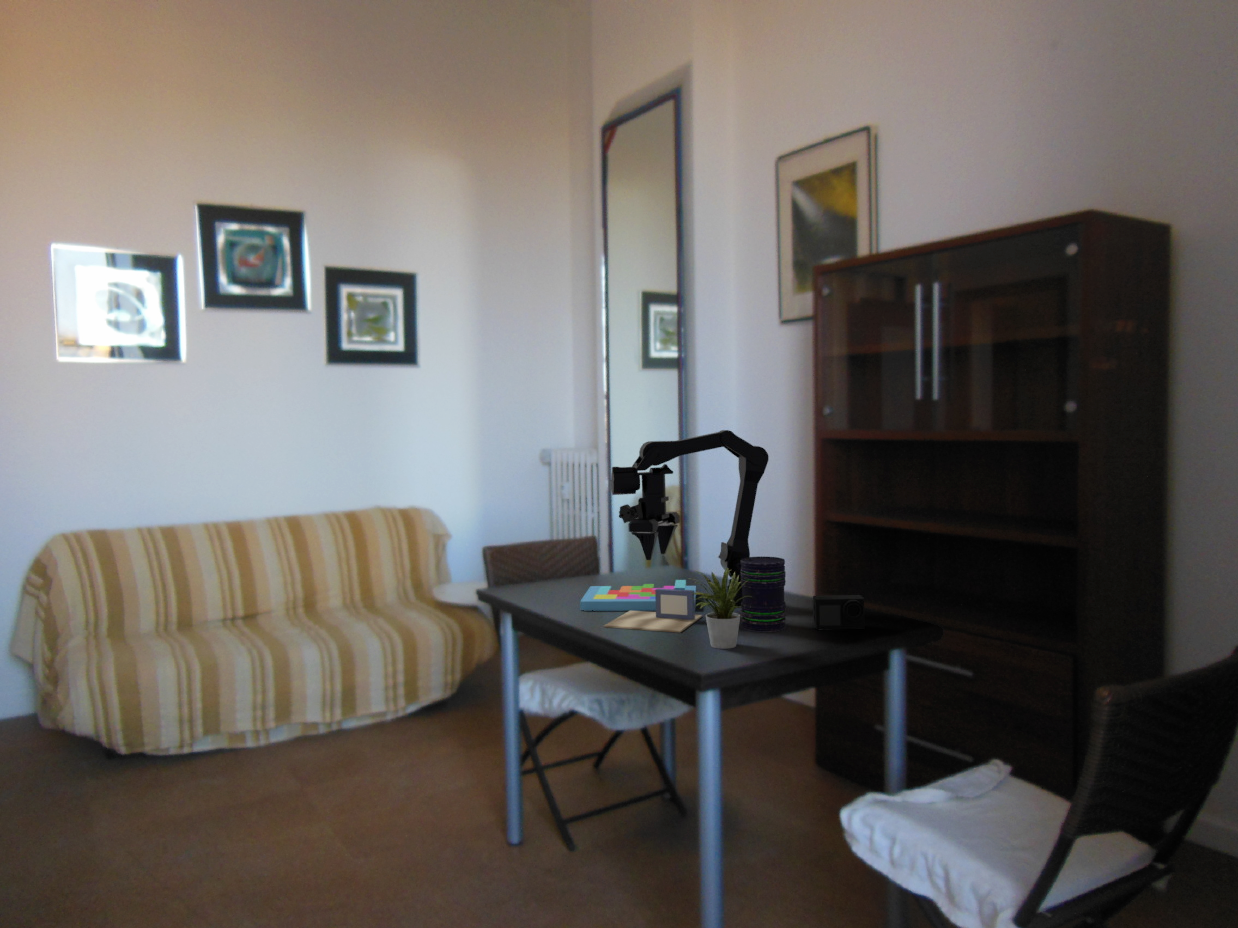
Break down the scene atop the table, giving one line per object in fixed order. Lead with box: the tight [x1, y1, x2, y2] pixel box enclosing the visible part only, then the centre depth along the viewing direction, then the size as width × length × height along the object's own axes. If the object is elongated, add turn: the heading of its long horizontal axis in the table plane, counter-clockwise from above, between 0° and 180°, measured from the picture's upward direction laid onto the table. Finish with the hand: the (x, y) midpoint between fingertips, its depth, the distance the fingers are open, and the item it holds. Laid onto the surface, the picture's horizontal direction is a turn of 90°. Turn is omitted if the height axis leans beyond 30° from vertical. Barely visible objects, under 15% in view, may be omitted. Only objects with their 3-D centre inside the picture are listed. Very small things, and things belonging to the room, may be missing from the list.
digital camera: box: [812, 594, 865, 630], centre depth 195 cm, size 10×5×7 cm, turn 87°
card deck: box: [655, 589, 696, 620], centre depth 207 cm, size 9×2×6 cm, turn 68°
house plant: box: [685, 568, 752, 650], centre depth 184 cm, size 14×14×16 cm
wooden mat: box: [603, 610, 703, 633], centre depth 206 cm, size 18×16×1 cm
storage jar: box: [740, 556, 787, 633], centre depth 198 cm, size 10×10×15 cm
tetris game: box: [579, 579, 697, 612], centre depth 232 cm, size 28×3×28 cm
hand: (656, 556), depth 218 cm, fingers open, 9 cm apart
